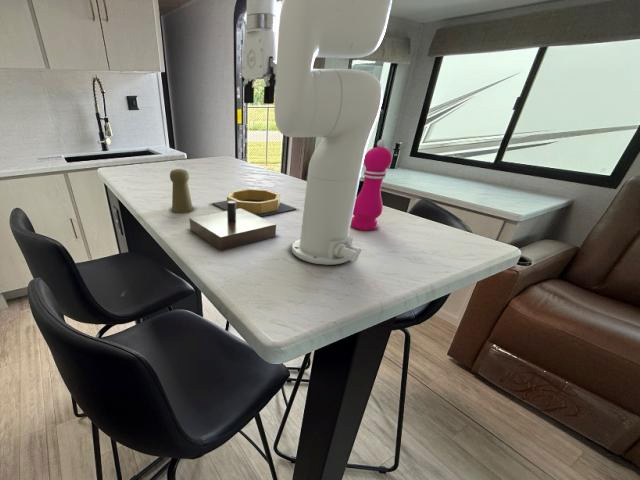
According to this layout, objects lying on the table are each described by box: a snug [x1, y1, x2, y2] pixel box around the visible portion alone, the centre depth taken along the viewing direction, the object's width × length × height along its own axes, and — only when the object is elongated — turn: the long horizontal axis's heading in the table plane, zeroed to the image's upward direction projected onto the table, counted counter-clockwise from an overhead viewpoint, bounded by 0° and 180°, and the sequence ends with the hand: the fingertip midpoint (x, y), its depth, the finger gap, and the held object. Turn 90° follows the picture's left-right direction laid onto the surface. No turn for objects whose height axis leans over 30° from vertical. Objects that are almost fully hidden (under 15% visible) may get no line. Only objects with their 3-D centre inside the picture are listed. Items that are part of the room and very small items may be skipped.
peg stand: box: [189, 201, 277, 251], centre depth 75 cm, size 15×15×8 cm
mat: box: [212, 199, 297, 218], centre depth 96 cm, size 18×18×1 cm
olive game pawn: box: [169, 168, 194, 214], centre depth 90 cm, size 6×6×11 cm
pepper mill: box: [350, 139, 393, 231], centre depth 76 cm, size 7×7×20 cm
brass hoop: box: [226, 188, 281, 214], centre depth 95 cm, size 15×15×3 cm
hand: (258, 103), depth 92 cm, fingers open, 9 cm apart
